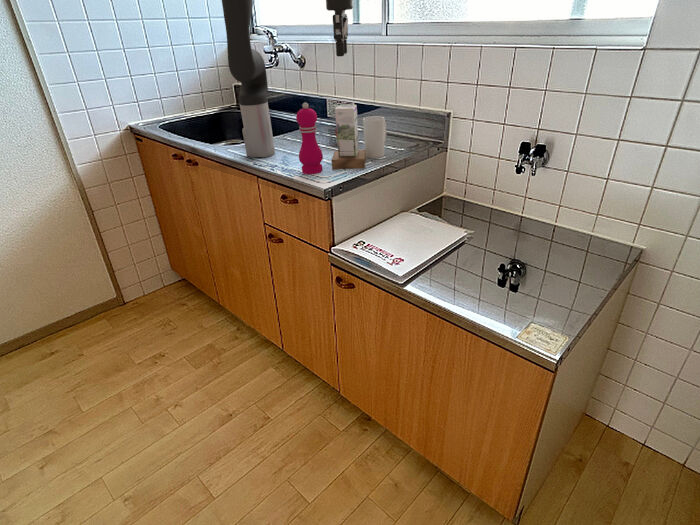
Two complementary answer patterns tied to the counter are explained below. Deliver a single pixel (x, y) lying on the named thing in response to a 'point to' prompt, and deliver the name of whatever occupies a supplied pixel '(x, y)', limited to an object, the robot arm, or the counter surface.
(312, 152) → the pepper mill
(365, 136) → the mug
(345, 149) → the syrup box
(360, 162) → the walnut base
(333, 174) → the counter surface
